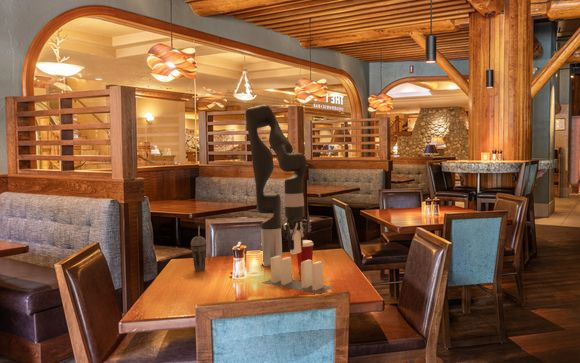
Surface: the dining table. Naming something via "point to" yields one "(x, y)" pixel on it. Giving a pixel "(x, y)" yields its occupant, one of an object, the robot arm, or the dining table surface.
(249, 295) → the dining table surface
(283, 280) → the tile
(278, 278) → the tile
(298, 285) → the slate mat
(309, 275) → the tile
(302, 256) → the paper cup
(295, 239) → the tile
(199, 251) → the beverage cup
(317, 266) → the tile
